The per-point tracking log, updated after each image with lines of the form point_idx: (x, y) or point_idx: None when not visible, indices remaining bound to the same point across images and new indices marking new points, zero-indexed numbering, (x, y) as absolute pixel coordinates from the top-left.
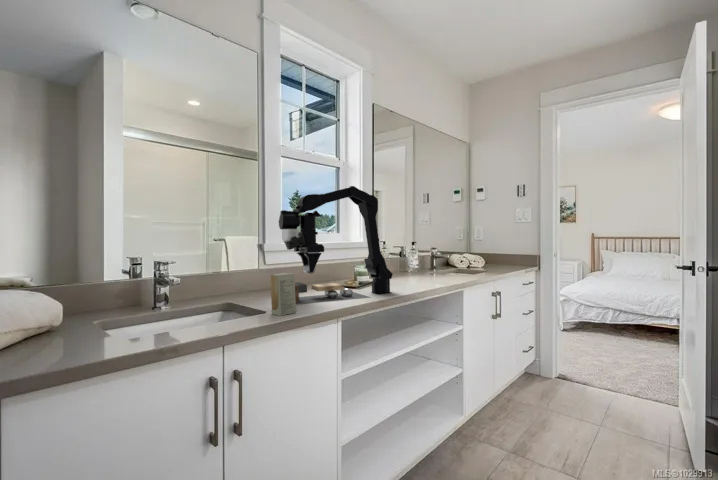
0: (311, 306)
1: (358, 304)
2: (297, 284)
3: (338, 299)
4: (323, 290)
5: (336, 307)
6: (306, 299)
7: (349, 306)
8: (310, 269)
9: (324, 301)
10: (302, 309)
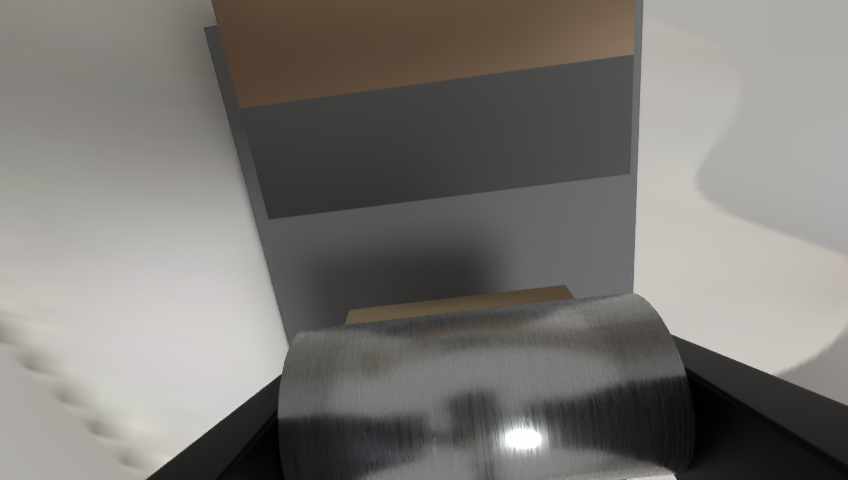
0: (146, 180)
1: (157, 466)
2: (370, 110)
3: None
4: None
5: (70, 332)
6: None
7: (94, 407)
8: (265, 395)
9: (289, 304)
10: (18, 87)
